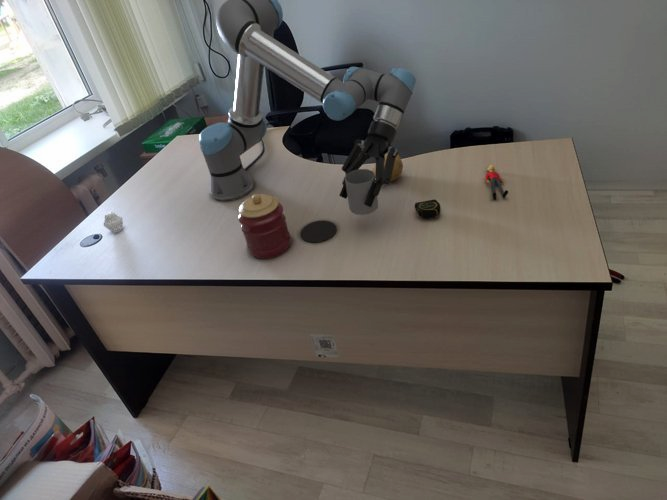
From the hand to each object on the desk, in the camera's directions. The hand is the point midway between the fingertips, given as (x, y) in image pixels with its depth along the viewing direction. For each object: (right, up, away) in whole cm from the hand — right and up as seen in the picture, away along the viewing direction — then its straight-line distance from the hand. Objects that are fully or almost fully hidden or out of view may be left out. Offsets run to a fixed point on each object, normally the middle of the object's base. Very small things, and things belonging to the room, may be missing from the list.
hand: (354, 201), depth 134 cm
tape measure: (+22, -3, +8) cm, 23 cm away
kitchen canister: (-25, -13, +7) cm, 29 cm away
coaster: (-10, -8, +9) cm, 16 cm away
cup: (+3, -1, +4) cm, 5 cm away
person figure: (+44, +7, +15) cm, 47 cm away
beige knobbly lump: (-80, -7, +29) cm, 85 cm away
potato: (+13, +10, +28) cm, 33 cm away
